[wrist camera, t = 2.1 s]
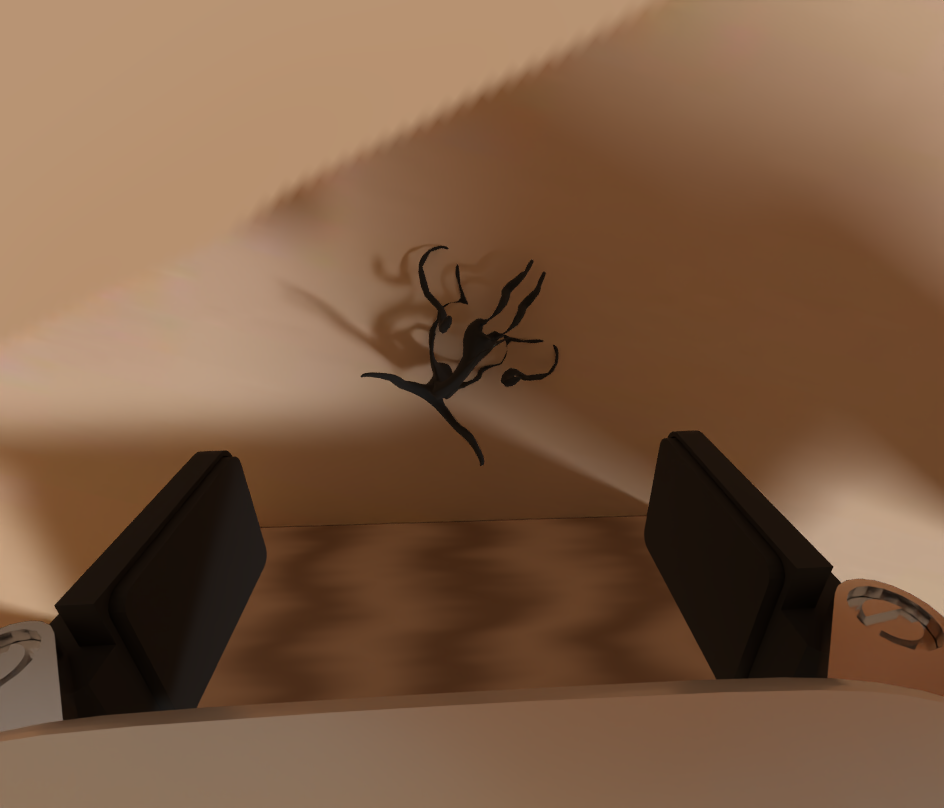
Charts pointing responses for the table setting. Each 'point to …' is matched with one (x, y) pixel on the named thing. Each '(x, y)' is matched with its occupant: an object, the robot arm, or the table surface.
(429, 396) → the creature
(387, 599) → the trapdoor frame
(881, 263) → the table surface
